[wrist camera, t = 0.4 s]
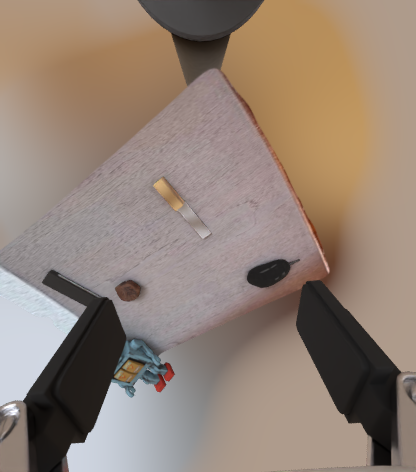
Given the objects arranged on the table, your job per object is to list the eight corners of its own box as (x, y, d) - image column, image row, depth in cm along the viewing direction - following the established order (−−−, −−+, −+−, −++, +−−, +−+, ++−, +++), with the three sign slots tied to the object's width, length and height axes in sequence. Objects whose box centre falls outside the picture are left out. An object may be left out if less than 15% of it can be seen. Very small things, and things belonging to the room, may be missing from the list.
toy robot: (155, 403, 66) (74, 389, 49) (145, 374, 75) (74, 354, 58) (182, 369, 69) (113, 345, 51) (169, 346, 78) (107, 318, 60)
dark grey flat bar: (52, 269, 52) (44, 279, 53) (48, 272, 50) (41, 283, 52) (110, 301, 57) (102, 310, 59) (108, 305, 56) (100, 313, 58)
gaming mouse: (301, 267, 54) (308, 277, 50) (250, 285, 56) (254, 296, 53) (296, 250, 51) (303, 259, 47) (243, 270, 53) (246, 280, 50)
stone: (137, 275, 53) (133, 283, 50) (147, 294, 57) (144, 302, 54) (114, 279, 54) (109, 287, 51) (126, 298, 57) (122, 307, 54)
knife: (155, 183, 42) (152, 186, 40) (164, 175, 42) (161, 178, 39) (202, 238, 49) (202, 243, 46) (211, 232, 48) (211, 237, 46)
